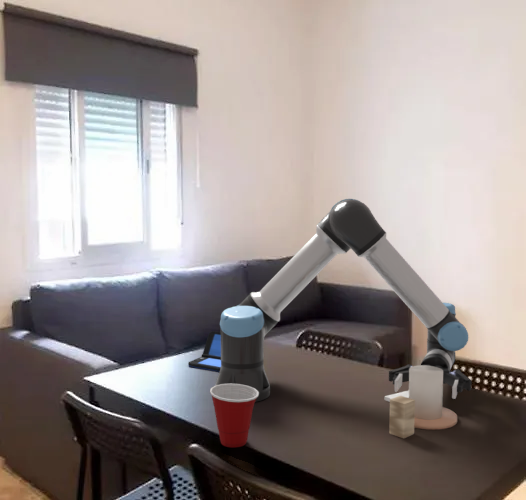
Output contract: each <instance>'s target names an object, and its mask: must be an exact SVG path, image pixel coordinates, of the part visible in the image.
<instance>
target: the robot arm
mask: <svg viewBox="0 0 526 500" xmlns="http://www.w3.org/2000/svg"><path fill="white" fill-rule="evenodd" d="M350 250H352V251H353V252H354V254H356V255H357V257H359V258H364V259H365V260H366V261H367V262H368V264H369V265H370V266H371V267H372V268H373V269H374V270H375V271H376V272H377V274H379V276H380V277H381V278H382V280H384V282H385V283H387V285H388V286H389V287H390V289H391V290H392V291H393V292H394V293H395V294H396V295H397V296H398V297H399V298H400V300H401V301H402V302H403V303H404V304H405V305H406V306H407V308H408V309H410V311H411V312H412V313H413V314H414V315H415V316H416V317H417V318H418V320H419V321H420V322H421V324H423V325H424V326H425V328H426V329H427V339H426V354H425V356H424V357H423V360H422V361H421V363H420V365H426V366H434V367H438V368H440V369H442V370H443V385H445V384H447V385H448V386H451V389H452V390H451V391H452V393H451V398H452V399H453V400H454V399H455V400H456V398H457V395H458V393H462V392H463V391H464V390H466V391H472V379H471V378H469V377H468V376H467V375H466V374H464V373H463V372H461V369H459V368H456V369H455V370H453V371H451V369H452V366H453V365H454V363H455V361H456V351H457V352H458V351H461V350H463V349H464V348H465V346H466V345H467V343H468V342H469V333H468V330H467V328H466V327H465V326H464V324H462V323H461V322H460V321H459V319H457V317H456V315H457V313H456V306H455V304H452V303H449V302H443V301H442V300H441V299H440V298H439V297H438V296H437V294H435V292H434V291H433V290H432V289H431V288H430V287H429V285H428V284H427V283H426V282H425V281H424V279H422V278H421V276H420V275H419V274H418V273H417V272H416V271H415V269H414V268H413V267H412V266H411V264H410V263H408V261H406V259H405V258H404V257H403V256H402V254H400V252H399V251H398V250H397V249H396V248H395V247H394V245H392V244H391V242H390V241H389V240H388V239H387V232H386V231H385V230H384V229H383V227H382V226H381V225H380V223H379V222H378V220H377V219H376V218H375V216H374V214H373V213H372V210H370V208H369V207H368V206H367V205H366V204H365V203H364V202H362V201H361V200H358V199H354V198H345V199H341V200H339V201H337V202H336V203H335V204H334V205H333V206H332V207H331V208H330V210H329V211H328V213H326V215H325V216H324V217H322V219H321V220H320V221H319V222H318V223H317V224H316V232H315V234H314V235H313V236H312V237H311V238H310V239H309V240H308V241H307V242H306V243H305V244H304V245H303V246H302V247H301V248H300V249H299V250H298V251H297V252H296V253H295V254H294V255H293V257H292V258H290V260H288V262H286V264H285V265H284V266H283V267H281V269H280V270H279V271H278V272H277V273H276V274H275V275H274V276H273V277H272V278H271V279H270V280H269V281H268V282H267V283H266V284H265V285H264V286H263V287H262V288H261V289H260V290H259V291H256V292H255V291H252V292H250V293H249V294H248V295H247V296H246V297H245V299H244V300H242V301H241V302H240V303H239V304H238V305H236V306H232V307H228V308H226V309H224V310H223V311H222V312H221V315H220V320H219V327H220V332H221V369H220V372H218V376H217V379H216V382H215V385H214V386H216V385H220V384H242V385H246V386H250V387H252V388H255V389H256V390H257V391H258V392H259V395H258V397H257V398H256V400H255V403H256V402H260V401H263V400H266V399H267V398H269V397H270V395H271V385H270V381H269V379H268V375H267V372H266V370H265V366H264V362H265V361H264V357H265V356H264V354H265V353H264V349H265V348H264V346H265V345H264V343H265V342H264V341H265V340H264V339H265V336H266V335H267V334H268V333H269V332H270V331H271V330H272V329H273V328H274V327H275V326H276V325H277V324H278V322H280V321H281V312H283V310H284V309H285V308H286V307H287V306H288V305H289V304H290V303H291V302H292V301H293V300H294V299H295V298H296V297H297V296H298V295H299V294H300V293H301V292H302V291H303V290H304V289H305V288H306V287H307V286H308V285H309V283H311V282H312V281H313V280H314V279H315V278H316V277H317V276H318V275H319V273H320V272H322V271H323V269H324V268H326V267H327V266H328V264H330V262H331V261H332V260H333V259H334V258H336V256H338V255H340V254H343V255H344V254H347V253H348V252H349V251H350ZM412 366H413V365H412V364H411V363H409V364H407V365H404V366H402V367H399V368H395V369H392V370H389V371H388V381H389V382H390V383H391V382H392V385H394V391H393V392H396V393H397V392H398V391H399V390H400V389H401V386H402V385H403V383H406V382H409V368H410V367H412ZM398 393H399V392H398Z"/></svg>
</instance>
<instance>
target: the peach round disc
mask: <svg viewBox="0 0 526 500" xmlns="http://www.w3.org/2000/svg"><path fill="white" fill-rule="evenodd" d="M457 423H458V415H457V413H455V412H454V411H453V410H451V409H449V408H447V407H444V406H442V417H441V418H439V419H435V420H424V419H418V418H415V419H414V429H420V430H421V429H422V430H429V431H430V430H431V431H432V430H433V431H436V430H438V431H439V430H446V429H450V428H452V427H455V426H456V424H457Z"/></svg>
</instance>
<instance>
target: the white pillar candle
mask: <svg viewBox="0 0 526 500" xmlns="http://www.w3.org/2000/svg"><path fill="white" fill-rule="evenodd" d="M408 390H409V398H410V399H414V400H415V418H418V419H424V420H435V419H439V418H441V417H442V407H443V400H444V399H443V398H444V397H443V396H444V395H443V393H444V384H443V370H442V369H440V368H438V367H434V366H426V365H421V364H420V365H412V367H410V368H409V381H408Z"/></svg>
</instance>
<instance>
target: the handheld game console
mask: <svg viewBox="0 0 526 500" xmlns="http://www.w3.org/2000/svg"><path fill="white" fill-rule="evenodd" d="M187 366H189V367H192V368H196V369H201V370H207V371H213V372H217V373H219V372H220V369H221V331H216V330H212V331H210V332H209V333H208V336H207V339H206V342H205V345H204V348H203V351H202V354H201V356H200V357H198V358H195V359H192V360H190V361H188V365H187Z"/></svg>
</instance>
